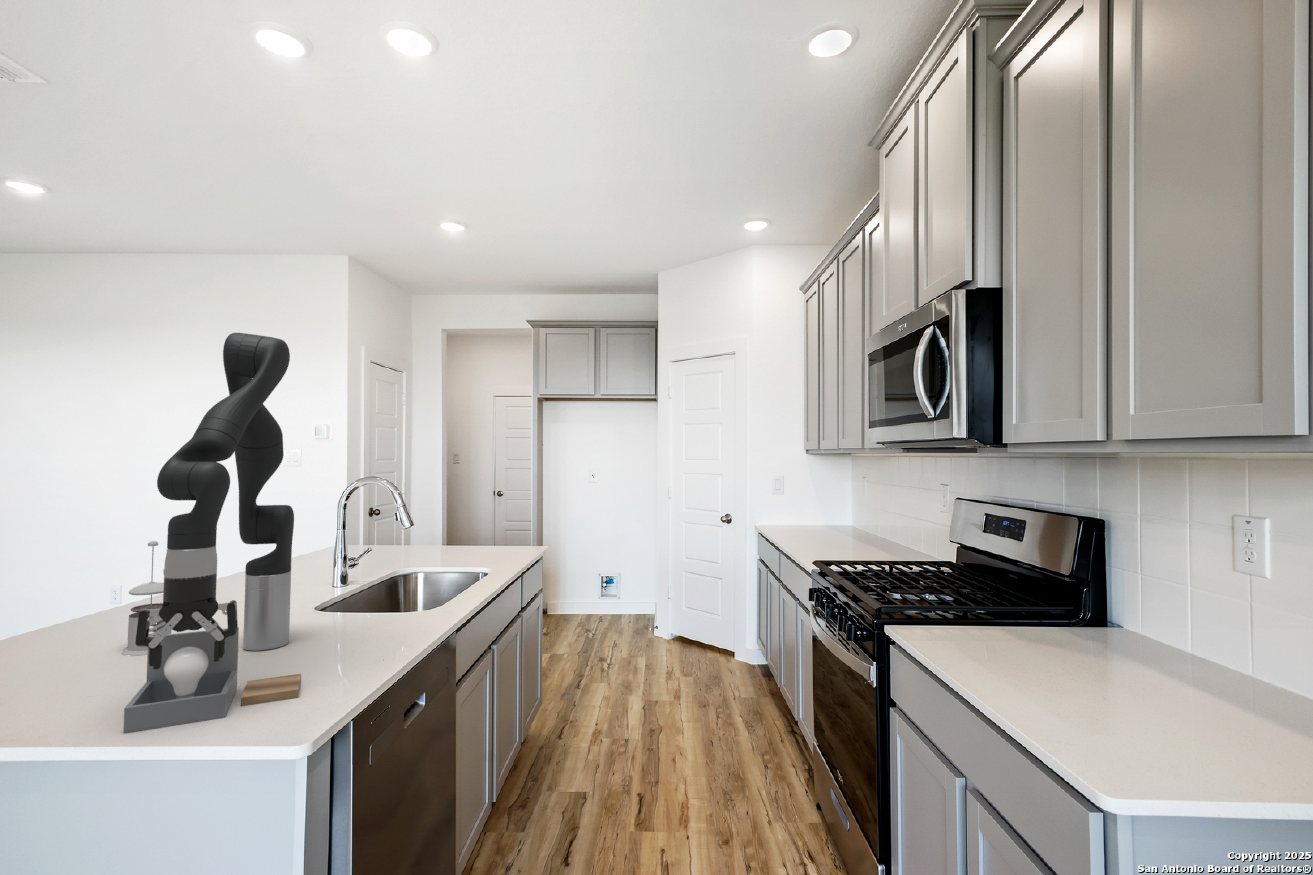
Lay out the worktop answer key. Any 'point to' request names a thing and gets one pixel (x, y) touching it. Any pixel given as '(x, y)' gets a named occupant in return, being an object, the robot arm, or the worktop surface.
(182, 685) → the lightbulb
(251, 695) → the stand
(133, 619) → the french press
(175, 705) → the case
